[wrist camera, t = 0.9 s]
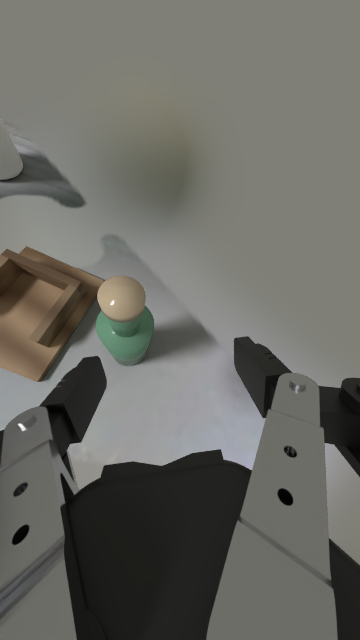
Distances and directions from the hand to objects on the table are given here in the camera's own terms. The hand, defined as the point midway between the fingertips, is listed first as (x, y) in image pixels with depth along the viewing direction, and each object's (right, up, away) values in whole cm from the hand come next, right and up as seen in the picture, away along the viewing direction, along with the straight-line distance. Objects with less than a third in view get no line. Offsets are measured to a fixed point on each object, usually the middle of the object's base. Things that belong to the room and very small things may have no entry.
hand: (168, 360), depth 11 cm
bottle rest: (-22, +4, +18) cm, 29 cm away
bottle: (-8, -2, +19) cm, 21 cm away
